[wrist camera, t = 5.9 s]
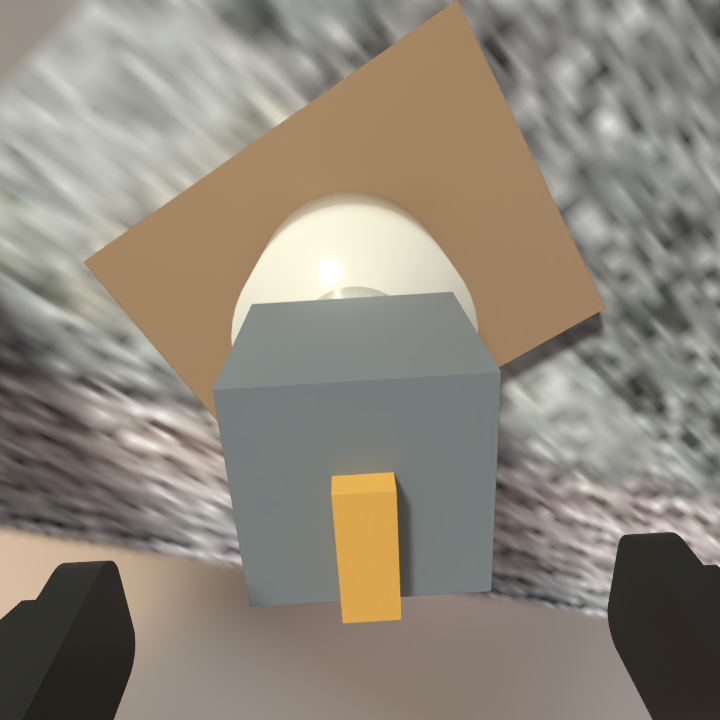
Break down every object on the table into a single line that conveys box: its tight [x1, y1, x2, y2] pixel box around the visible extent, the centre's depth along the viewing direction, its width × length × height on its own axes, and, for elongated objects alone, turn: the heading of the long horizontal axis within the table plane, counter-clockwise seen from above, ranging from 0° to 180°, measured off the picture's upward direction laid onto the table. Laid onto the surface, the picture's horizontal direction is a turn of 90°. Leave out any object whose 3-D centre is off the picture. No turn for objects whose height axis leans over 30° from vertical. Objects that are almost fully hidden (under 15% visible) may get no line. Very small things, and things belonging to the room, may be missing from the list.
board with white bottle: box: [84, 0, 605, 421], centre depth 21 cm, size 18×14×11 cm
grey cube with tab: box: [212, 292, 501, 623], centre depth 14 cm, size 5×5×6 cm
